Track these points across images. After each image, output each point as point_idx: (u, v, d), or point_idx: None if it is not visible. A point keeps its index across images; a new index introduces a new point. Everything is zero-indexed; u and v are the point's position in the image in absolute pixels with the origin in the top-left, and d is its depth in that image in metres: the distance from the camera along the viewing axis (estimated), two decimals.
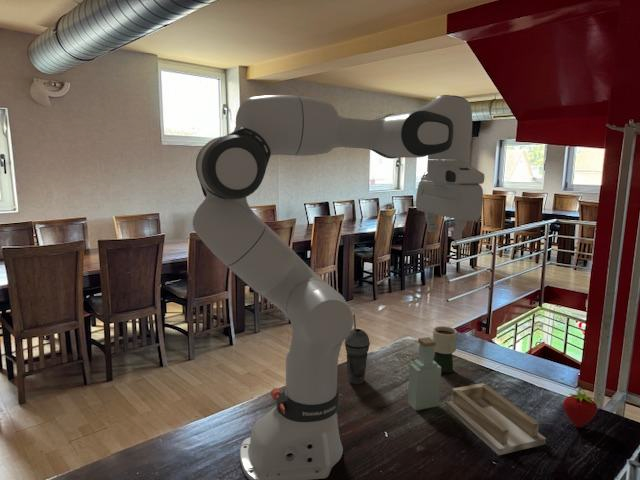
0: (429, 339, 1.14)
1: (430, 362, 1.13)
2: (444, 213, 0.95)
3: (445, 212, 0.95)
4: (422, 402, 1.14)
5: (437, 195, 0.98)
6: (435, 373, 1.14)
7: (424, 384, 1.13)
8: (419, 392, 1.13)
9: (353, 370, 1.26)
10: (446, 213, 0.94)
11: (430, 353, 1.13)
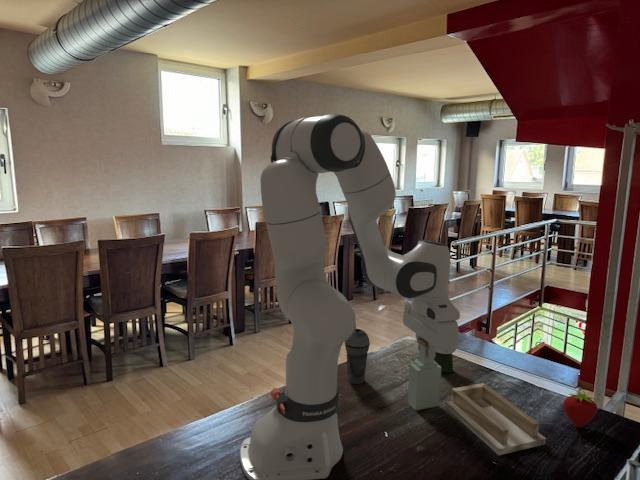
0: None
1: (430, 362, 1.13)
2: (426, 339, 1.10)
3: (427, 338, 1.10)
4: (422, 402, 1.14)
5: (420, 320, 1.13)
6: (435, 373, 1.14)
7: (424, 384, 1.13)
8: (419, 392, 1.13)
9: (353, 370, 1.26)
10: (428, 340, 1.09)
11: None
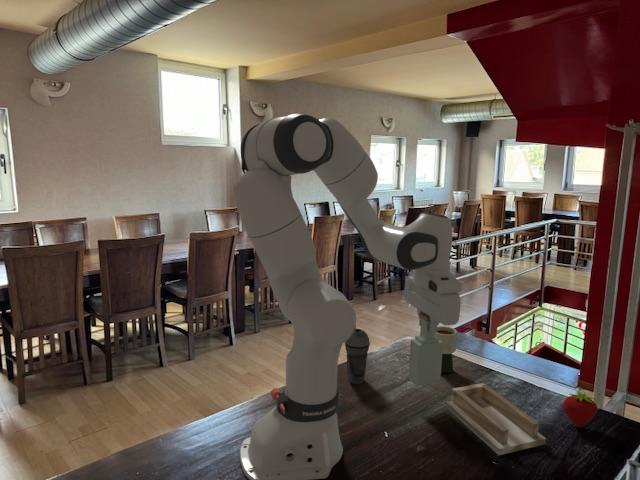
0: None
1: (432, 337, 1.12)
2: (428, 313, 1.09)
3: (428, 312, 1.09)
4: (424, 378, 1.13)
5: (422, 295, 1.12)
6: (437, 348, 1.12)
7: (425, 359, 1.12)
8: (420, 367, 1.12)
9: (353, 370, 1.26)
10: (429, 314, 1.08)
11: None
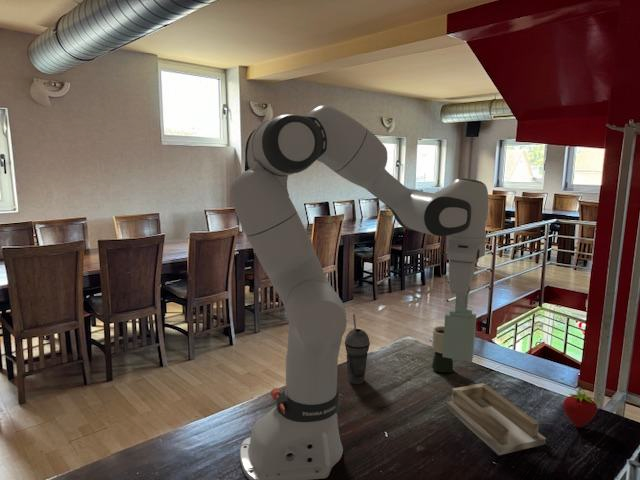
0: None
1: (463, 311, 1.07)
2: None
3: None
4: (451, 351, 1.09)
5: None
6: (467, 324, 1.06)
7: (453, 332, 1.08)
8: (447, 339, 1.09)
9: (353, 370, 1.26)
10: None
11: None
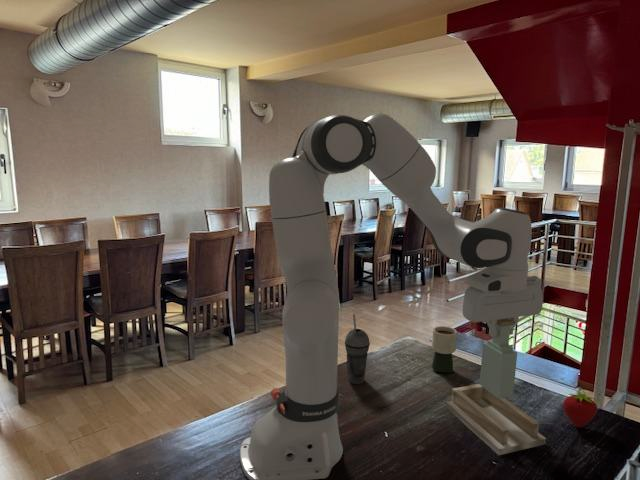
0: (505, 320, 1.02)
1: (497, 343, 1.03)
2: None
3: None
4: (485, 381, 1.07)
5: None
6: (497, 357, 1.02)
7: (487, 362, 1.06)
8: (483, 367, 1.07)
9: (353, 370, 1.26)
10: None
11: None
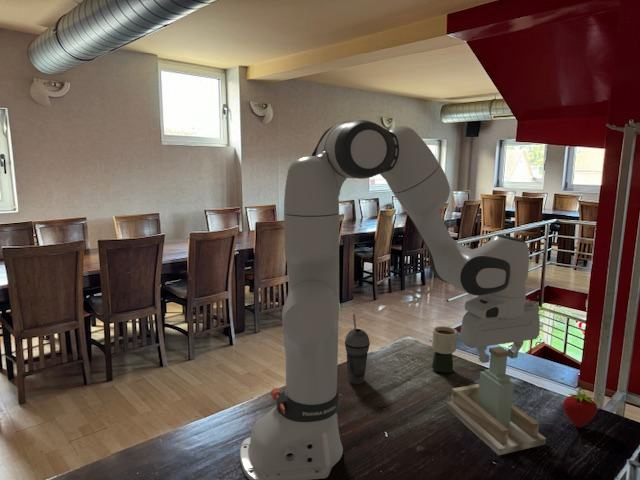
0: (502, 351, 1.04)
1: (494, 373, 1.05)
2: None
3: None
4: None
5: None
6: (494, 388, 1.04)
7: (484, 391, 1.07)
8: (480, 396, 1.09)
9: (353, 370, 1.26)
10: None
11: (494, 363, 1.04)
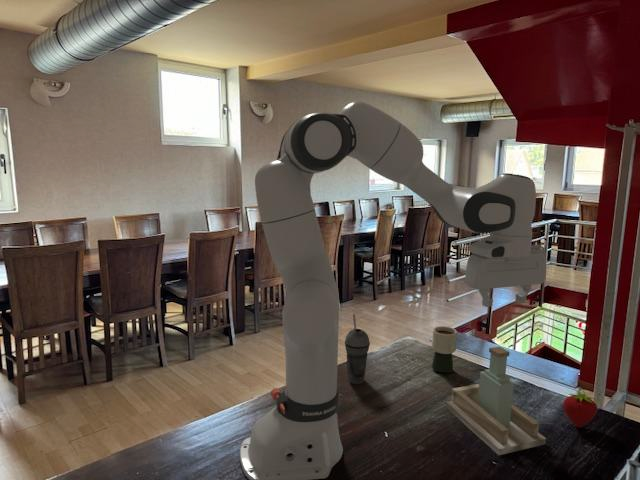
0: (502, 351, 1.04)
1: (494, 373, 1.05)
2: None
3: None
4: None
5: None
6: (494, 388, 1.04)
7: (484, 391, 1.07)
8: (480, 396, 1.09)
9: (353, 370, 1.26)
10: None
11: (494, 363, 1.04)
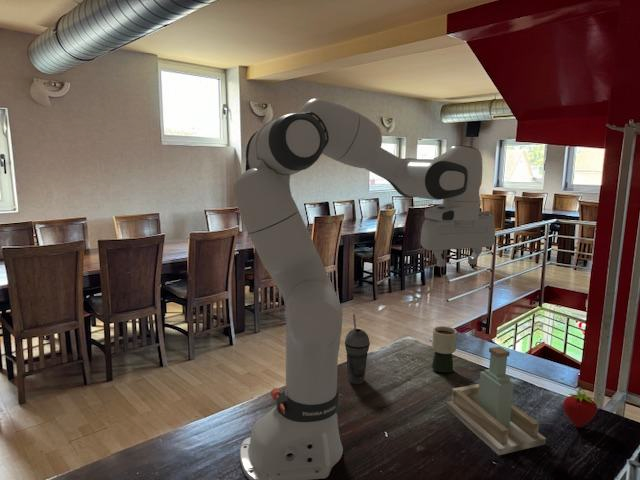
0: (502, 351, 1.04)
1: (494, 373, 1.05)
2: None
3: None
4: None
5: None
6: (494, 388, 1.04)
7: (484, 391, 1.07)
8: (480, 396, 1.09)
9: (353, 370, 1.26)
10: None
11: (494, 363, 1.04)
